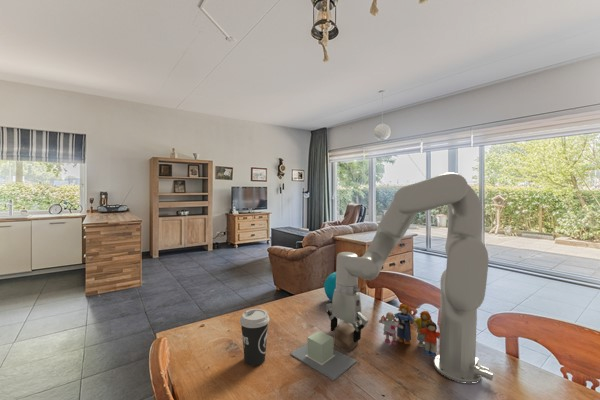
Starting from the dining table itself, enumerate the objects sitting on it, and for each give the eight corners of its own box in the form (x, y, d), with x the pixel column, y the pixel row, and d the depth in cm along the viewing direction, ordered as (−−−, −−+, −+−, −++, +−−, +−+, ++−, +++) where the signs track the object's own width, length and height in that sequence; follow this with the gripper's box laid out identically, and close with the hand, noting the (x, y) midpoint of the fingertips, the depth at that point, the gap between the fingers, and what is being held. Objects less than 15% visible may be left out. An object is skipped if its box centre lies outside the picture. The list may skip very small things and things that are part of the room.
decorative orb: (342, 294, 144) (342, 266, 143) (361, 305, 131) (362, 274, 130) (318, 300, 136) (318, 270, 136) (336, 312, 123) (337, 279, 123)
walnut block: (358, 344, 98) (358, 328, 97) (348, 351, 93) (348, 334, 93) (344, 338, 102) (344, 322, 101) (334, 344, 97) (334, 328, 97)
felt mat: (356, 362, 88) (356, 360, 88) (333, 380, 79) (333, 379, 79) (313, 340, 100) (313, 338, 100) (290, 354, 91) (290, 353, 91)
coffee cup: (256, 347, 95) (256, 305, 95) (275, 358, 89) (276, 313, 88) (233, 361, 88) (233, 314, 87) (253, 374, 82) (253, 324, 81)
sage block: (333, 355, 90) (333, 337, 90) (321, 363, 86) (321, 344, 86) (319, 347, 94) (319, 330, 94) (307, 355, 90) (307, 337, 90)
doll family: (377, 341, 100) (378, 305, 99) (383, 329, 108) (384, 296, 108) (443, 359, 89) (444, 319, 89) (444, 345, 97) (445, 308, 97)
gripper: (374, 292, 93) (372, 341, 94) (333, 279, 105) (331, 322, 106) (362, 298, 88) (360, 350, 89) (320, 283, 100) (319, 329, 101)
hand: (344, 335), depth 98 cm, fingers open, 9 cm apart
